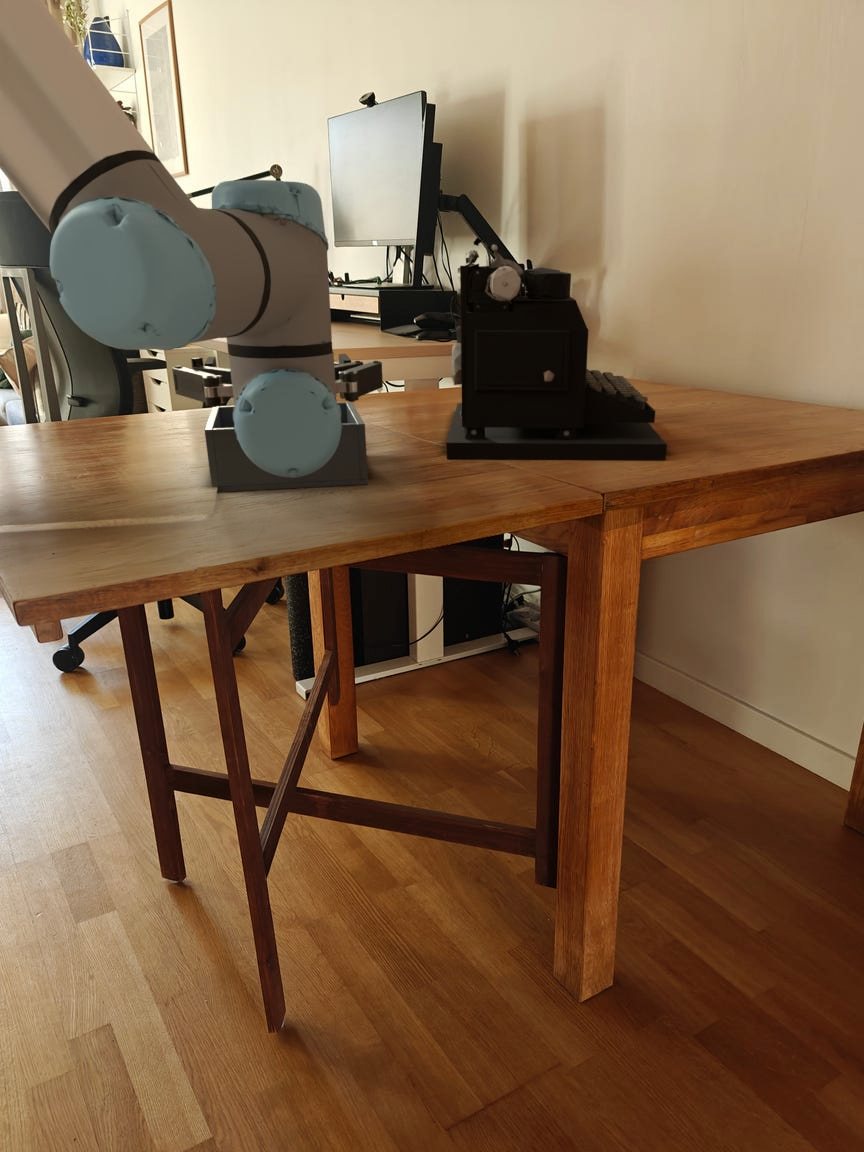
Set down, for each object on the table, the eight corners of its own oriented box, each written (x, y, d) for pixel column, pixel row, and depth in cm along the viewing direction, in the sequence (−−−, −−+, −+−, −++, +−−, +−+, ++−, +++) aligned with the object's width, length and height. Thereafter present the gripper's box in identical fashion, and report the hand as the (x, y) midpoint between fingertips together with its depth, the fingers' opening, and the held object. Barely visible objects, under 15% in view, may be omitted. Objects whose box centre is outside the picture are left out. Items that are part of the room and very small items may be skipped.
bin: (212, 492, 92) (204, 429, 89) (219, 461, 106) (212, 406, 103) (368, 484, 95) (364, 423, 93) (355, 455, 109) (352, 401, 106)
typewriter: (665, 460, 107) (685, 237, 96) (446, 458, 107) (443, 236, 97) (630, 417, 135) (643, 241, 125) (457, 416, 135) (456, 240, 125)
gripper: (136, 448, 73) (162, 408, 91) (428, 435, 78) (395, 400, 97) (121, 355, 69) (151, 333, 88) (426, 348, 75) (393, 329, 94)
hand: (279, 368), depth 93 cm, fingers open, 13 cm apart
